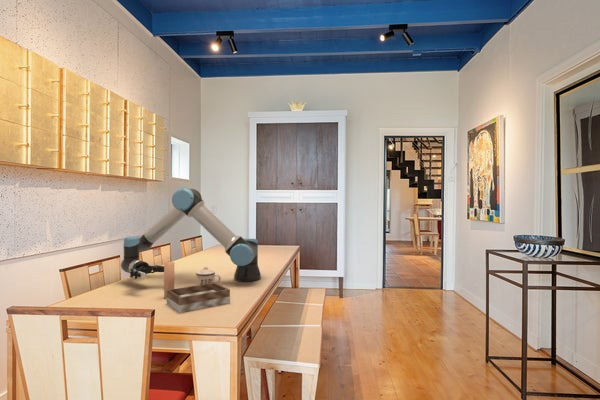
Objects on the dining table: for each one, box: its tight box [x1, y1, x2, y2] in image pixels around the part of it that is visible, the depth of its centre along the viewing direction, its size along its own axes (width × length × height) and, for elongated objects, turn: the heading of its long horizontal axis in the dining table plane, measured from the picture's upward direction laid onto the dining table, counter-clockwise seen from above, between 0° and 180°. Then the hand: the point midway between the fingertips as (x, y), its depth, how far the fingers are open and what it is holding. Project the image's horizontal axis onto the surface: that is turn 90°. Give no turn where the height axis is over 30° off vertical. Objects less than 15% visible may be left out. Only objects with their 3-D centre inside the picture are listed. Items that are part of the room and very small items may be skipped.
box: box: [166, 282, 231, 314], centre depth 152 cm, size 22×16×6 cm
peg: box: [163, 261, 175, 300], centre depth 161 cm, size 4×4×16 cm
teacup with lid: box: [195, 266, 222, 285], centre depth 175 cm, size 12×9×12 cm
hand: (159, 274), depth 167 cm, fingers open, 13 cm apart
